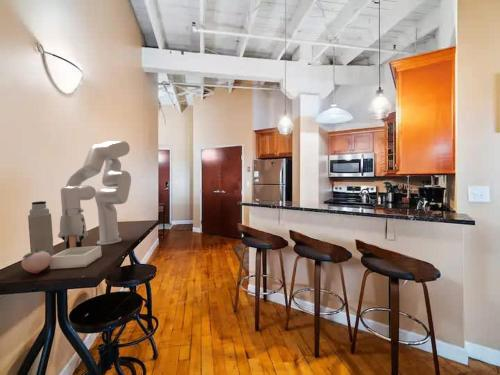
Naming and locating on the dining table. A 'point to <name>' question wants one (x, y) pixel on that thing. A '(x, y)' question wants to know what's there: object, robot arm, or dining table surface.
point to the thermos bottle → (40, 228)
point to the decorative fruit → (36, 261)
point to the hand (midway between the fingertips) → (74, 249)
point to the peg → (72, 241)
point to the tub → (75, 257)
